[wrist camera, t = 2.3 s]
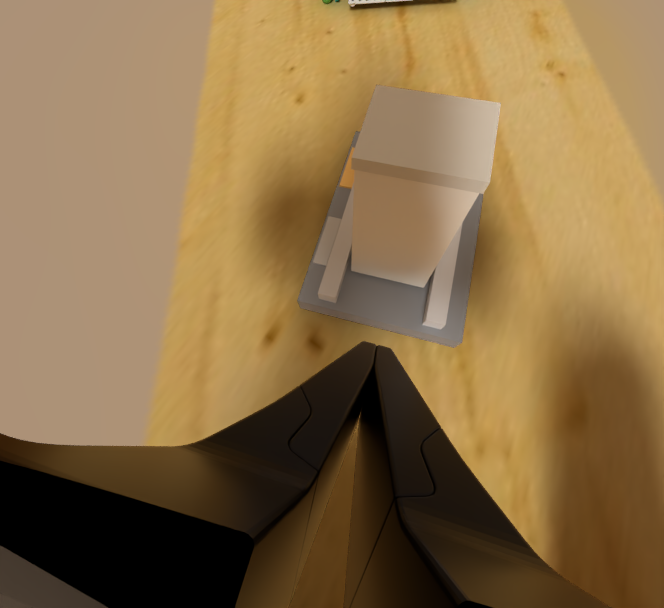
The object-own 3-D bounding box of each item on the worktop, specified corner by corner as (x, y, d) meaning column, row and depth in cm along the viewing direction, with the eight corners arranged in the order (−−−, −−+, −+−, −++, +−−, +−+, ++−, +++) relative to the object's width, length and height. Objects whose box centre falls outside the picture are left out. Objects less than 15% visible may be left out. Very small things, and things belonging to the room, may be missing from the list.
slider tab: (424, 289, 20) (489, 182, 11) (349, 271, 21) (351, 157, 12) (435, 237, 22) (500, 103, 12) (364, 222, 22) (376, 84, 13)
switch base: (454, 347, 21) (470, 336, 18) (300, 307, 22) (293, 292, 19) (481, 168, 26) (497, 137, 23) (355, 145, 27) (356, 114, 24)
